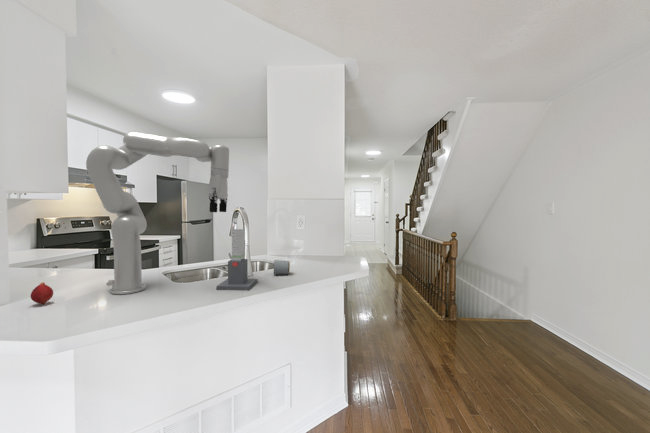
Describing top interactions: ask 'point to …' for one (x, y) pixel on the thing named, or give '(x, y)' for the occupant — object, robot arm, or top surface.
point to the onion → (42, 293)
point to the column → (238, 245)
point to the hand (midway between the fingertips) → (218, 212)
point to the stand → (237, 277)
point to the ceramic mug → (281, 267)
